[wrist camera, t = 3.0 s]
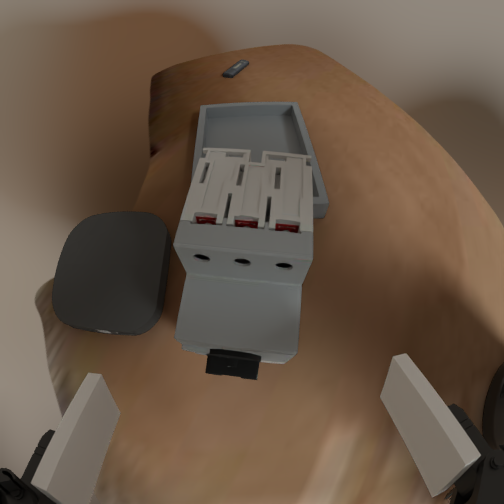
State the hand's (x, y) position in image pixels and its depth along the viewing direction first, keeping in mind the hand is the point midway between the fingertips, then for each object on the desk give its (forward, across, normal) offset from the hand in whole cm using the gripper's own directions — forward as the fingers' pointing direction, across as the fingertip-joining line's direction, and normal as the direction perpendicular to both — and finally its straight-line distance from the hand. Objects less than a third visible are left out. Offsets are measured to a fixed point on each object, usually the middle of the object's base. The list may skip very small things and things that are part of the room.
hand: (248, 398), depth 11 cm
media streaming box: (+21, +16, +2) cm, 26 cm away
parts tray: (+32, -3, -11) cm, 34 cm away
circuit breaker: (+17, 0, +5) cm, 18 cm away
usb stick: (+55, -1, -33) cm, 64 cm away
